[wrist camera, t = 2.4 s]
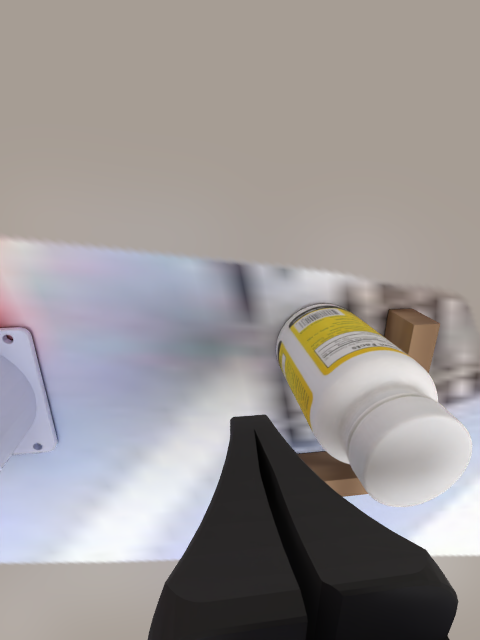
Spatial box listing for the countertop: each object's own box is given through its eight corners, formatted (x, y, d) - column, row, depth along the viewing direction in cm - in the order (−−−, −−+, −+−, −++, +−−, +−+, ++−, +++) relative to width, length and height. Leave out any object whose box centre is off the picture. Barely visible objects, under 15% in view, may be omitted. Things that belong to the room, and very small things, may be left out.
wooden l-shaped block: (282, 471, 24) (291, 502, 21) (292, 313, 19) (305, 330, 17) (381, 461, 24) (400, 490, 22) (412, 308, 20) (440, 323, 18)
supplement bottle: (328, 393, 22) (423, 538, 13) (258, 361, 20) (308, 499, 11) (377, 324, 20) (524, 432, 11) (306, 285, 19) (409, 372, 10)
